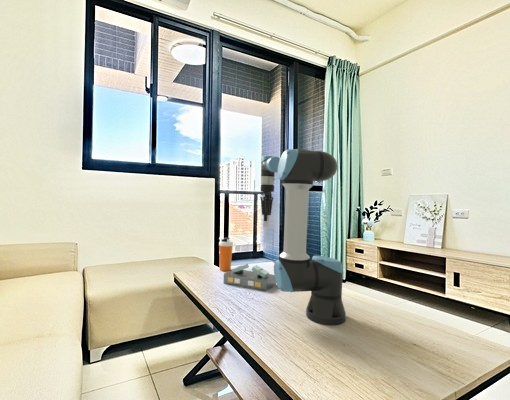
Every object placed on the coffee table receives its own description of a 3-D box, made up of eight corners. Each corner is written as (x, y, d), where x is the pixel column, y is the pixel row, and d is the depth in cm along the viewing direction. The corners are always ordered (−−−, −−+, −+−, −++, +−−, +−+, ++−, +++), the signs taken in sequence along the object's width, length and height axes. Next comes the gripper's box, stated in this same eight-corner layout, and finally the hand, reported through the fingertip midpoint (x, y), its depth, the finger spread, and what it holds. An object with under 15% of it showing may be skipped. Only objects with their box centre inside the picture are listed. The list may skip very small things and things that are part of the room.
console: (265, 291, 137) (266, 278, 137) (223, 283, 148) (223, 271, 148) (275, 284, 149) (276, 272, 149) (235, 277, 160) (236, 266, 160)
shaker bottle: (233, 268, 181) (234, 237, 181) (230, 271, 172) (231, 239, 172) (219, 267, 182) (220, 237, 182) (216, 270, 173) (217, 238, 173)
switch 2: (264, 277, 143) (265, 274, 142) (251, 270, 146) (252, 266, 145) (267, 275, 147) (269, 272, 146) (255, 268, 150) (256, 264, 150)
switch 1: (245, 268, 148) (243, 264, 148) (233, 272, 151) (231, 269, 151) (249, 267, 152) (247, 263, 152) (237, 271, 155) (236, 267, 155)
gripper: (269, 183, 146) (267, 228, 146) (278, 185, 158) (276, 226, 158) (256, 183, 150) (254, 227, 149) (266, 185, 161) (264, 225, 161)
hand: (266, 226), depth 154 cm, fingers closed
